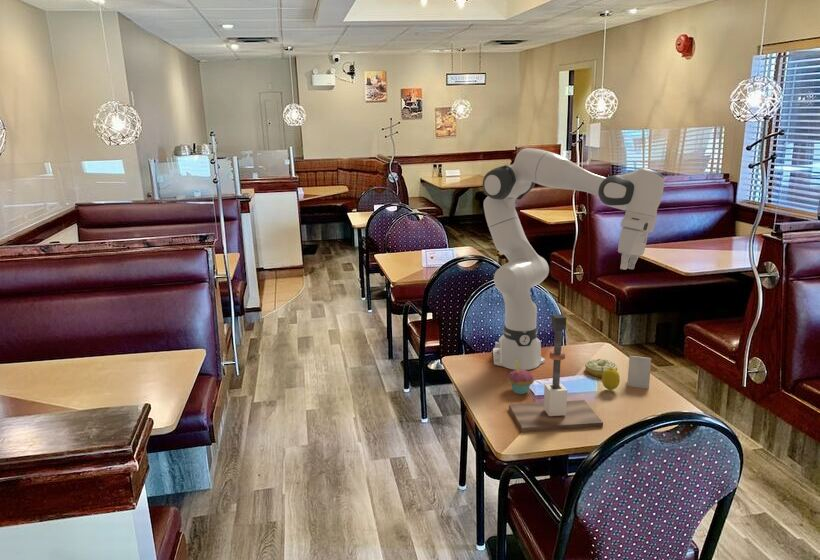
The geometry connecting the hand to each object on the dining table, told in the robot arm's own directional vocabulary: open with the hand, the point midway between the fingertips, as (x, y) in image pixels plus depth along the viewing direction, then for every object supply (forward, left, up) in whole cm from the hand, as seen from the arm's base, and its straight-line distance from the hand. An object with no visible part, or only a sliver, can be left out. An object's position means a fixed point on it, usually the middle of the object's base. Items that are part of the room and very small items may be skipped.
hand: (626, 269), depth 190 cm
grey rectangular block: (-10, +12, -43) cm, 46 cm away
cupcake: (-11, -28, -43) cm, 53 cm away
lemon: (-7, +1, -43) cm, 44 cm away
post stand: (+9, -23, -43) cm, 50 cm away
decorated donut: (-22, +4, -43) cm, 49 cm away
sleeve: (+9, -23, -41) cm, 48 cm away
